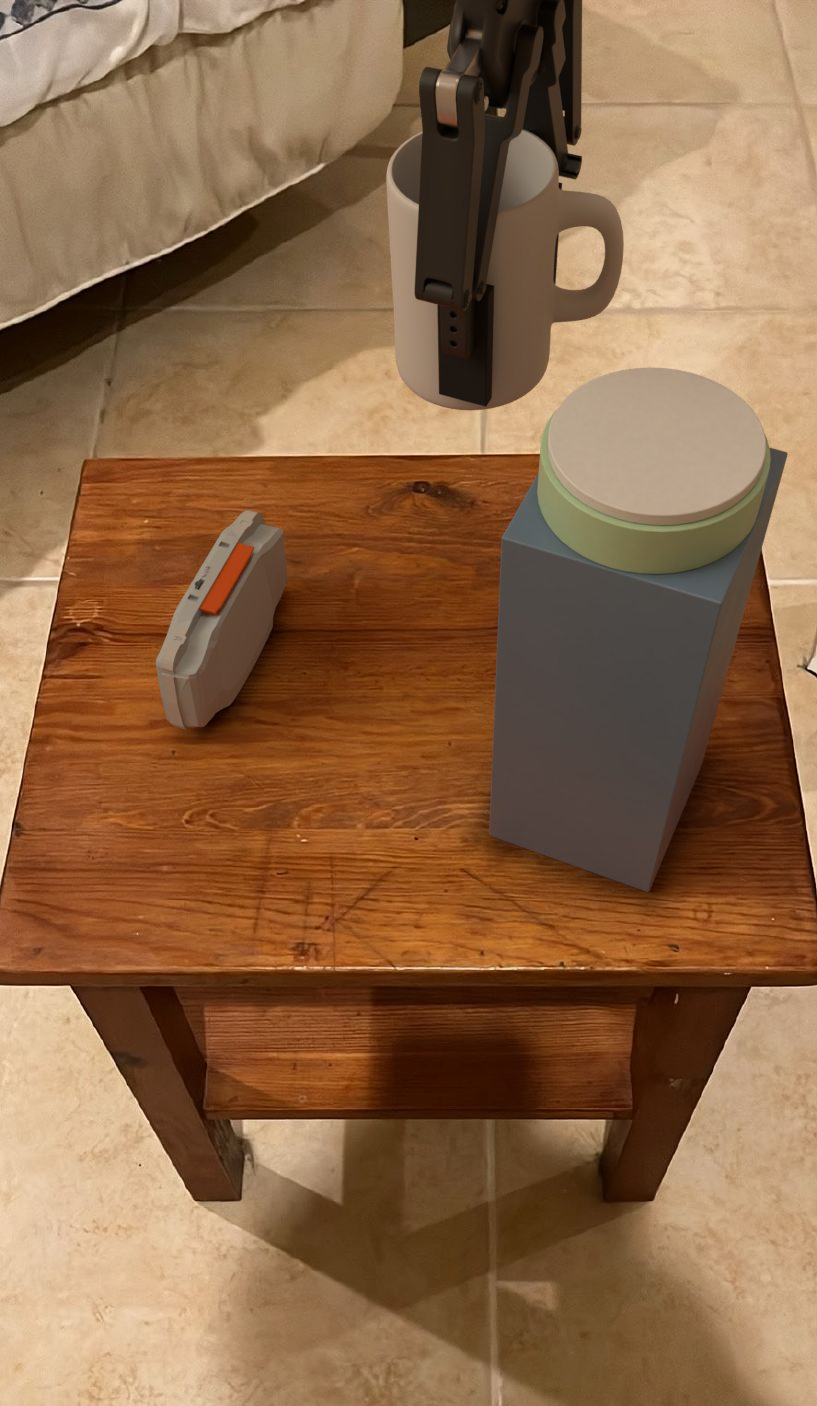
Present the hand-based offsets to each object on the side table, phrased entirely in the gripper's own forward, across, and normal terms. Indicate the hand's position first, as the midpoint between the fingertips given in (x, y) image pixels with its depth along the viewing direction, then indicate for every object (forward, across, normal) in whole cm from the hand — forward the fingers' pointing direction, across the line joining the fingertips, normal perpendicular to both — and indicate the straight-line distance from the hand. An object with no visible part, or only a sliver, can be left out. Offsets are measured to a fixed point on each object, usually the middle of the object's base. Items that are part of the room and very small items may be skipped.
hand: (498, 343), depth 71 cm
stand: (+19, +13, +12) cm, 26 cm away
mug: (+2, -1, 0) cm, 2 cm away
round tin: (-5, +13, +12) cm, 18 cm away
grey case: (+19, +12, -13) cm, 26 cm away
